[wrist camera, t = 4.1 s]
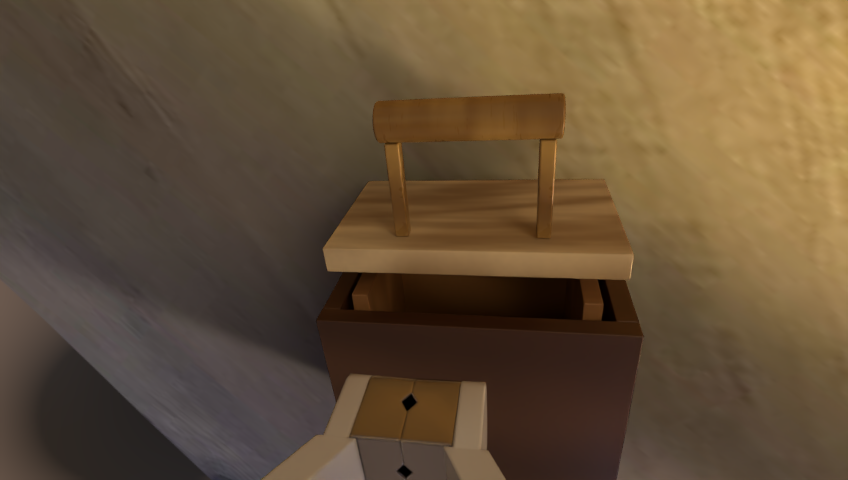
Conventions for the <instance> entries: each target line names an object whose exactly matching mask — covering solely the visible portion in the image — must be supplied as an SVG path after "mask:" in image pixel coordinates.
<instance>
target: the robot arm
mask: <svg viewBox="0 0 848 480" xmlns="http://www.w3.org/2000/svg"><path fill="white" fill-rule="evenodd" d="M261 480H506V479H505V477H504V476H503V474H502V472H501V471H500V469H499V467H498V466H497V464H496V462H495V461H494V459H493V457H492V456H491V454H490V452H489V451H488V450H487V388H486V383H485V382H471V381H456V380H437V379H419V378H417V379H412V378H401V377H390V376H379V375H364V374H352V373H351V374H350V375H349V376H348V377H347V378H346V380H345V383H344V385H343V388H342V390H341V392H340V395H339V397H338V400H337V402H336V405H335V407H334V409H333V412H332V414H331V417H330V419H329V422H328V424H327V426H326V429H325V431H324V434H323V435H315V436H314V437H313V438H312V439H310V440H309V441H308V442H307V443H305V444H304V445H303V446H302V447H301V448H299V449H298V450H297V451H296V452H294V453H293V454H292V455H291V456H289V457H288V458H287V459H286V460H284V461H283V462H282V463H281V464H279V465H278V466H277V467H276V468H274V469H273V470H272V471H271V472H269V473H268V474H267V475H266V476H265V477H263V478H262V479H261Z"/></svg>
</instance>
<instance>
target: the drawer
mask: <svg viewBox="0 0 848 480" xmlns="http://www.w3.org/2000/svg"><path fill="white" fill-rule="evenodd" d="M565 114H566V103H565V95H564V94H563V93H554V94H530V95H506V96H482V97H458V98H434V99H410V100H386V101H377V102H376V103H375V105H374V109H373V130H374V134H375V137H376V140H377V141H378V142H379V143H385V145H384V148H385V156H386V163H387V171H388V179H389V181H368V183H367V184H366V186H365V187H364V189H363V190H362V192H361V193H360V195H359V196H358V197H357V199H356V200H355V202H354V203H353V205H352V206H351V208H350V209H349V211H348V212H347V214H346V215H345V217H344V218H343V219H342V221H341V222H340V224H339V225H338V227H337V228H336V230H335V231H334V233H333V234H332V236H331V237H330V238H329V240H328V241H327V243H326V244H325V246H324V247H323V253H324V258H325V262H326V267H327V271H332V272H363V273H362V275H361V277H360V279H359V281H358V283H357V285H356V287H355V289H354V291H353V293H352V300H353V305H354V310H365V311H388V312H411V313H433V314H456V315H478V316H501V317H523V318H546V319H569V320H591V321H602V314H603V306H604V304H603V300H602V296H601V292H600V288H599V284H598V280H597V279H611V280H630V277H631V271H632V264H633V258H634V254H633V251H632V249H631V246H630V243H629V241H628V238H627V236H626V233H625V231H624V228H623V226H622V223H621V220H620V218H619V215H618V213H617V210H616V208H615V205H614V203H613V200H612V198H611V195H610V192H609V190H608V187H607V185H606V182H605V180H604V179H556V180H555V165H556V148H557V140H556V139H561V138H562V137H563V135H564V129H565ZM523 139H540V143H539V168H538V180H443V181H406V180H405V170H404V161H403V152H402V143H401V142H441V141H482V140H523Z"/></svg>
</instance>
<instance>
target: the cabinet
mask: <svg viewBox="0 0 848 480" xmlns="http://www.w3.org/2000/svg"><path fill="white" fill-rule="evenodd" d="M362 273H363V272H343V274H342V275H341V277H340V279H339V281H338V283H337V284H336V286H335V288H334V290H333V291H332V293H331V295H330V297H329V299H328V300H327V302H326V304H325V306H324V307H323V309H322V311H321V313H320V314H319V316H318V318H317V320H316V323H317V327H318V331H319V335H320V339H321V343H322V347H323V351H324V355H325V359H326V363H327V367H328V371H329V375H330V379H331V383H332V387H333V392H334V396H335V400H336V402H337V400H338V397H339V395H340V392H341V390H342V388H343V385H344V383H345V380H346V378H347V377H348V376H349V375H350V374H351V373H352V374H364V375H379V376H390V377H401V378H412V379H417V378H419V379H437V380H456V381H471V382H485V383H486V388H487V450H488V451H489V452H490V454H491V456H492V457H493V459H494V461H495V462H496V464H497V466H498V467H499V469H500V471H501V472H502V474H503V476H504V477H505V479H506V480H616V479H617V474H618V469H619V464H620V459H621V453H622V448H623V443H624V438H625V433H626V427H627V422H628V417H629V412H630V407H631V401H632V396H633V391H634V386H635V380H636V375H637V370H638V365H639V360H640V354H641V349H642V344H643V339H644V336H643V333H642V330H641V327H640V324H639V320H638V317H637V314H636V311H635V308H634V305H633V302H632V299H631V296H630V293H629V290H628V287H627V284H626V281H625V280H611V279H597V280H598V284H599V288H600V292H601V296H602V300H603V304H604V306H603V314H602V321H591V320H569V319H546V318H523V317H501V316H478V315H456V314H433V313H411V312H388V311H365V310H354V305H353V300H352V293H353V291H354V289H355V287H356V285H357V283H358V281H359V279H360V277H361V275H362Z"/></svg>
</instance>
